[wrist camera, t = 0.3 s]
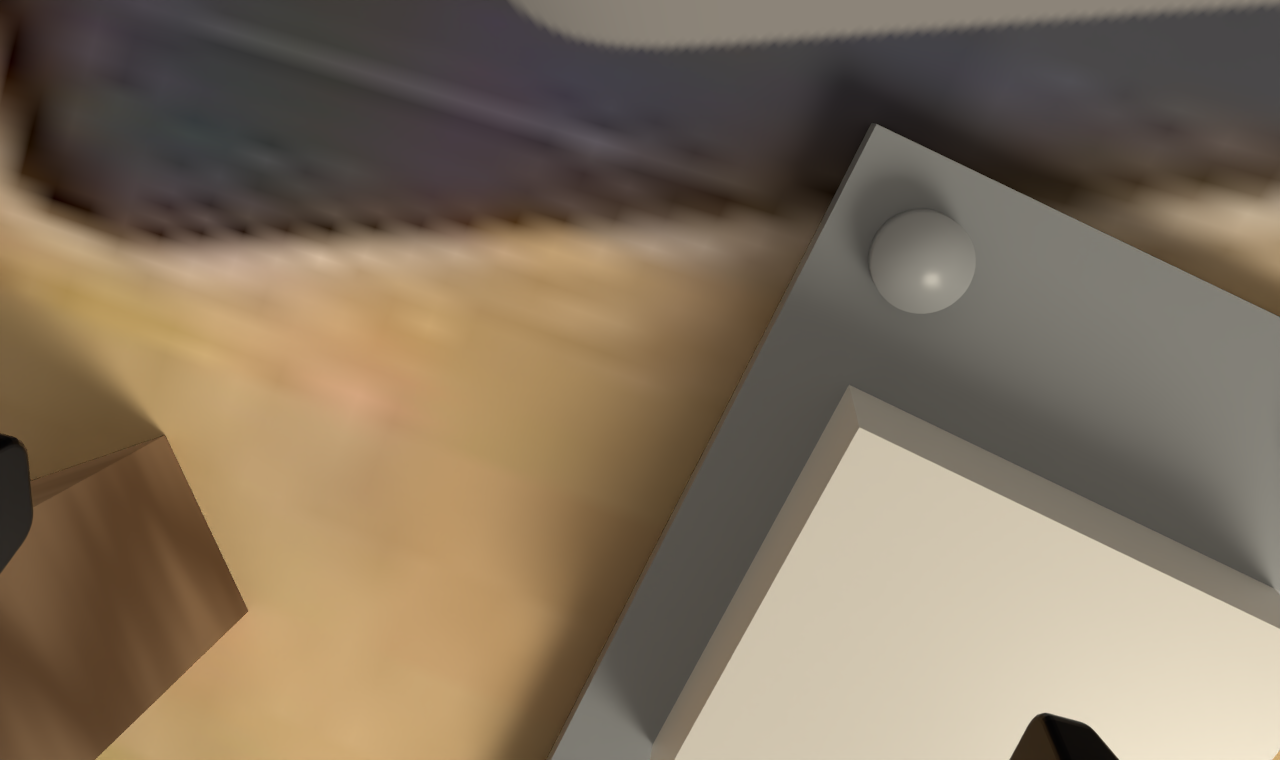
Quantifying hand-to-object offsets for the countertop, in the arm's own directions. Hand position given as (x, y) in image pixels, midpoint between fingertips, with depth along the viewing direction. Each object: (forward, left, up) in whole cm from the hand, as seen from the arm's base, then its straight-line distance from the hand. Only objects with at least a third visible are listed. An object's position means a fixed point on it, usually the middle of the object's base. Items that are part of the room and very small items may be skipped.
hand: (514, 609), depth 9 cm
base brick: (-1, -10, -15) cm, 18 cm away
